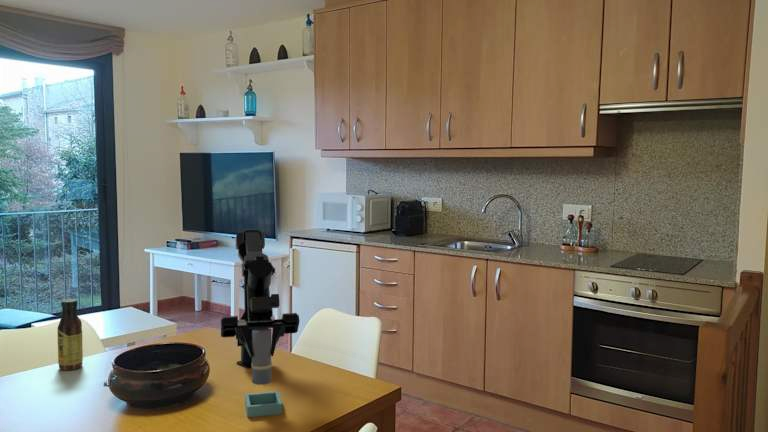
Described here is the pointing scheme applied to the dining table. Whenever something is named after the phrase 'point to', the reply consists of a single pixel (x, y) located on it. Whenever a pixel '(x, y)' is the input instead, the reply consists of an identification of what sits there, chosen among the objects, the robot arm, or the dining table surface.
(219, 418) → the dining table surface
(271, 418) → the dining table surface
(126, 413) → the dining table surface
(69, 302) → the sauce bottle
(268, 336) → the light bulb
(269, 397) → the frame
